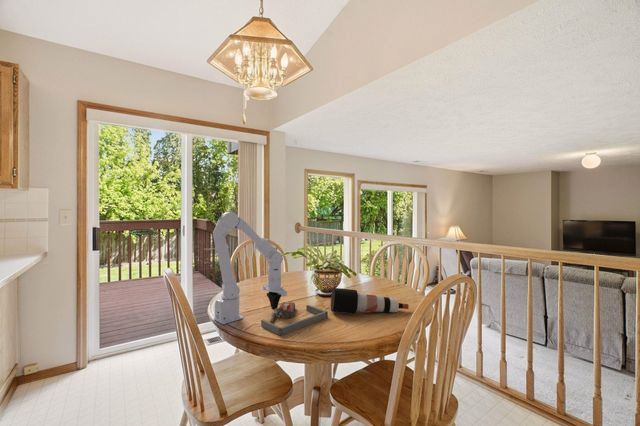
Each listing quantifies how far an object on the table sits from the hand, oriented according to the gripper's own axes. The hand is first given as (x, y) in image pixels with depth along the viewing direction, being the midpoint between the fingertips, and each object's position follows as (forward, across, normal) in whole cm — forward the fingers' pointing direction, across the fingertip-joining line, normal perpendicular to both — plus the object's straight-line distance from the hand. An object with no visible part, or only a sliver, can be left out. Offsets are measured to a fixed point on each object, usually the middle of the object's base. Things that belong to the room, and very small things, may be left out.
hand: (274, 308), depth 129 cm
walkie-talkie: (+2, -5, -1) cm, 6 cm away
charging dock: (+2, -14, 0) cm, 14 cm away
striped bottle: (+2, -29, -30) cm, 42 cm away
